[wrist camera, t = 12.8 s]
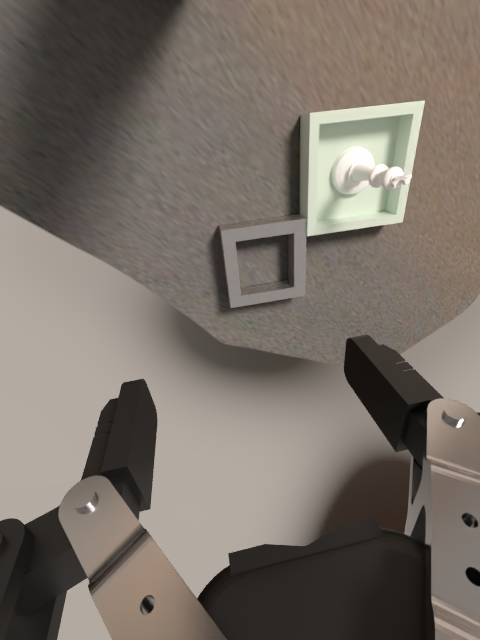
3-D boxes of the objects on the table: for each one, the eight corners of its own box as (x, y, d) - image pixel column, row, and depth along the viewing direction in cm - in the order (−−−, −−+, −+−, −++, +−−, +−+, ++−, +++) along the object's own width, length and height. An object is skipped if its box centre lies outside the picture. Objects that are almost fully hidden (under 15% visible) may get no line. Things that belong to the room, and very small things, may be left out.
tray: (300, 115, 31) (309, 113, 29) (407, 103, 33) (424, 100, 30) (299, 230, 38) (307, 236, 35) (388, 217, 39) (402, 222, 36)
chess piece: (376, 179, 36) (438, 191, 27) (339, 202, 36) (387, 221, 28) (365, 137, 33) (429, 135, 25) (325, 162, 34) (374, 169, 25)
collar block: (218, 225, 36) (220, 230, 34) (299, 213, 37) (306, 218, 35) (228, 299, 41) (230, 308, 39) (299, 287, 42) (305, 295, 40)
